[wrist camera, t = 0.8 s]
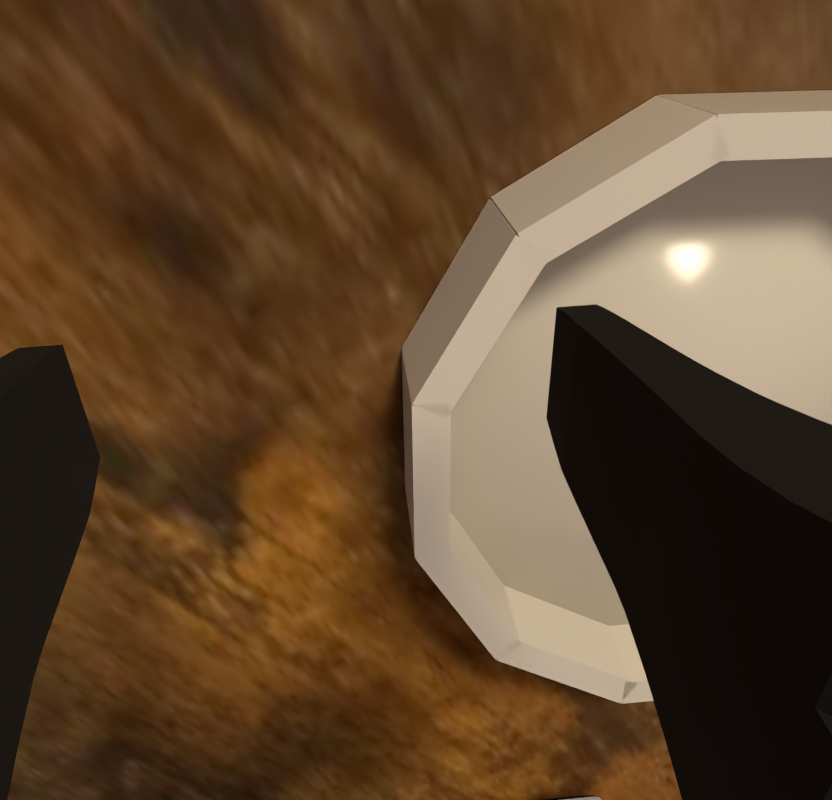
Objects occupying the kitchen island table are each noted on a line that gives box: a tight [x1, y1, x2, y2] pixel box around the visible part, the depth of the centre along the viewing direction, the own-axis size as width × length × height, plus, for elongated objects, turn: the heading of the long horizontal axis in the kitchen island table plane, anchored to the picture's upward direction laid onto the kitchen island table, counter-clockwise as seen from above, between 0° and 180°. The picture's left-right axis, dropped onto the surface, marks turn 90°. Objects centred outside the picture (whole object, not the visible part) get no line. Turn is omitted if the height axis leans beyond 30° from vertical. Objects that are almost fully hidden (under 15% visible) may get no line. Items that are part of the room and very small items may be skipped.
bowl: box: [402, 90, 832, 703], centre depth 23 cm, size 18×18×4 cm
